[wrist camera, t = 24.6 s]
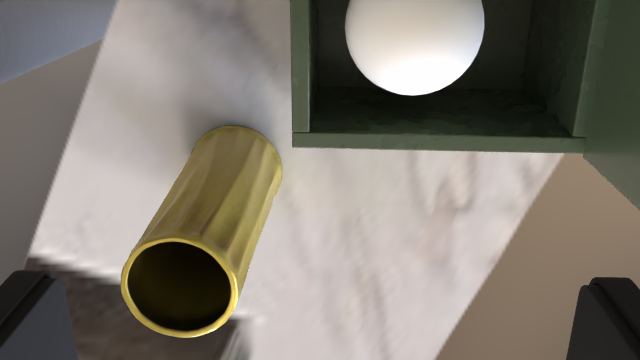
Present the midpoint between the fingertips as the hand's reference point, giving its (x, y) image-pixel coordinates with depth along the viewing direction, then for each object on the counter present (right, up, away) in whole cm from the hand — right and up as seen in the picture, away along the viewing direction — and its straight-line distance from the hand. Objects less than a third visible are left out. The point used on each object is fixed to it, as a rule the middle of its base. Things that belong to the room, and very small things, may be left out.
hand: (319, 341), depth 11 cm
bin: (+6, +13, +24) cm, 28 cm away
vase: (-5, +4, +29) cm, 29 cm away
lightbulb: (+4, +13, +23) cm, 27 cm away
